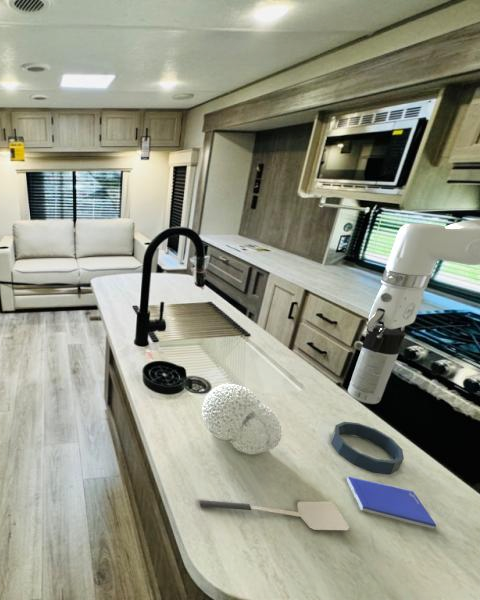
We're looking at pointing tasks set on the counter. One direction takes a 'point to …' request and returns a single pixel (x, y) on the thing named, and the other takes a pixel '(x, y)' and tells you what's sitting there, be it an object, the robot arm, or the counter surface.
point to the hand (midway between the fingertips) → (379, 346)
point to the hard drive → (390, 502)
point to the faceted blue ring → (362, 459)
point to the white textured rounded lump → (241, 419)
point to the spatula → (297, 513)
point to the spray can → (375, 368)
